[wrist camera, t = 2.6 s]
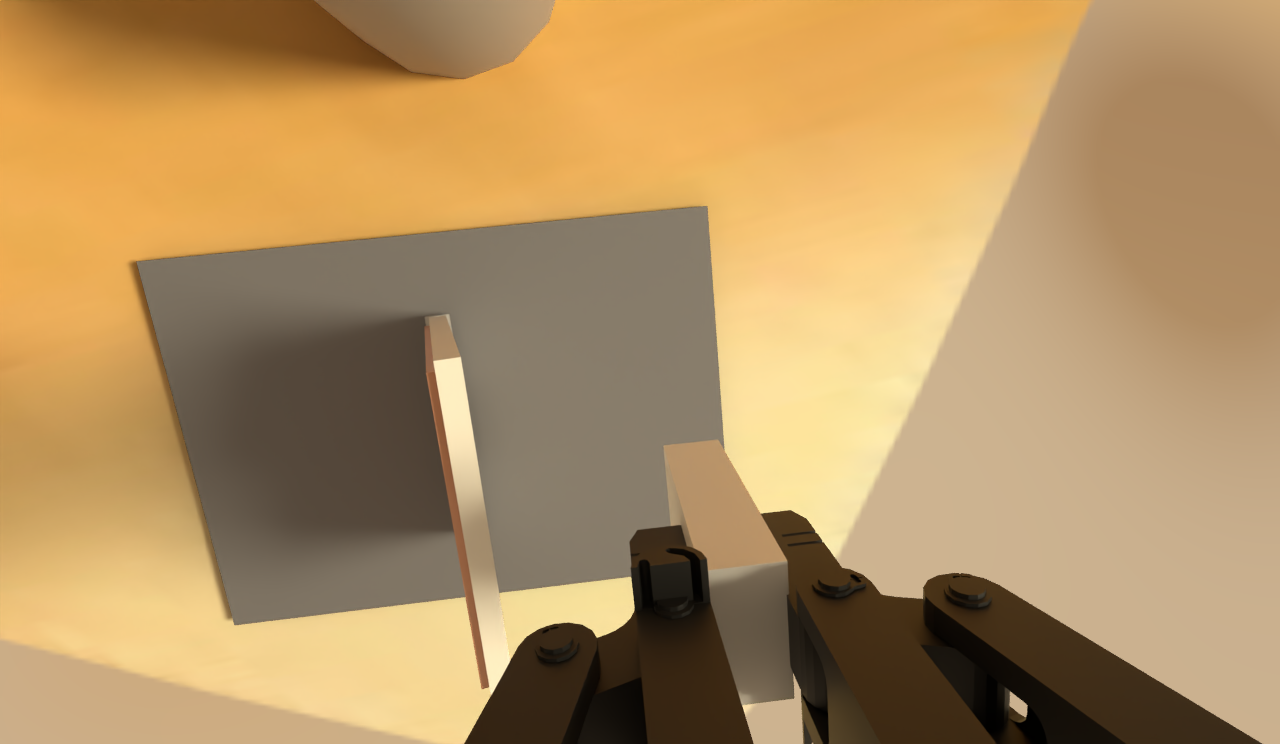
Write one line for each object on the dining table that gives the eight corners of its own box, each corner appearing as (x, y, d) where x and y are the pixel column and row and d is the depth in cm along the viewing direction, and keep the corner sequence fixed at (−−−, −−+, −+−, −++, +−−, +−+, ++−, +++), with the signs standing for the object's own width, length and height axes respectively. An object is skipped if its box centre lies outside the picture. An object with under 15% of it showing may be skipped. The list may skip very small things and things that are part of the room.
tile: (467, 356, 14) (424, 362, 14) (521, 695, 16) (484, 707, 16) (449, 312, 24) (422, 315, 24) (484, 529, 26) (460, 534, 26)
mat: (145, 260, 23) (136, 261, 23) (705, 206, 24) (707, 206, 24) (241, 618, 27) (234, 625, 26) (729, 558, 28) (732, 564, 27)
